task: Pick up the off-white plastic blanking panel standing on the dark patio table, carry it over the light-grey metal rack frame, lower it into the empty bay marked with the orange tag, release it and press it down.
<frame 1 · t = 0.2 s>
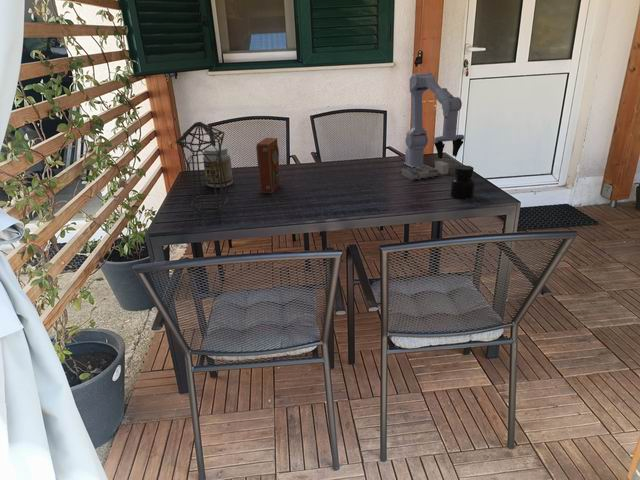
hand: (447, 157, 206), 10 cm above the table, tool pointing down, fingers open, 7 cm apart
blanking panel: (441, 172, 218), on the table
supplement tub: (220, 184, 212), on the table
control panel: (270, 189, 203), on the table
ink bottle: (461, 196, 186), on the table
geometric lantern: (211, 214, 177), on the table
rack: (419, 175, 214), on the table
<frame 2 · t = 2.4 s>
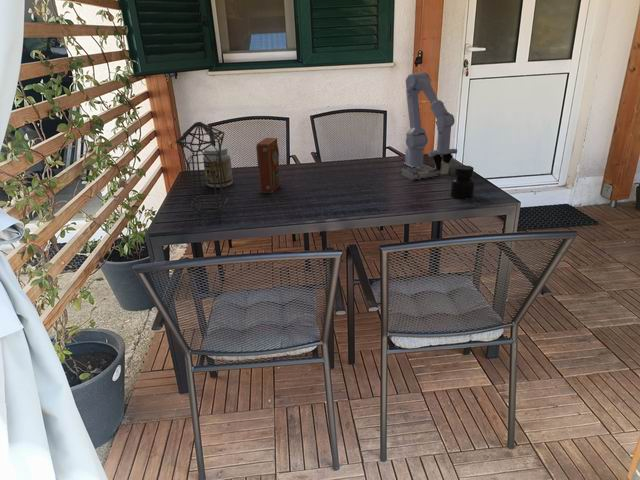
hand: (441, 169, 217), 1 cm above the table, tool pointing down, fingers closed on blanking panel, 3 cm apart
blanking panel: (441, 172, 218), on the table, touching gripper
everything else where it was.
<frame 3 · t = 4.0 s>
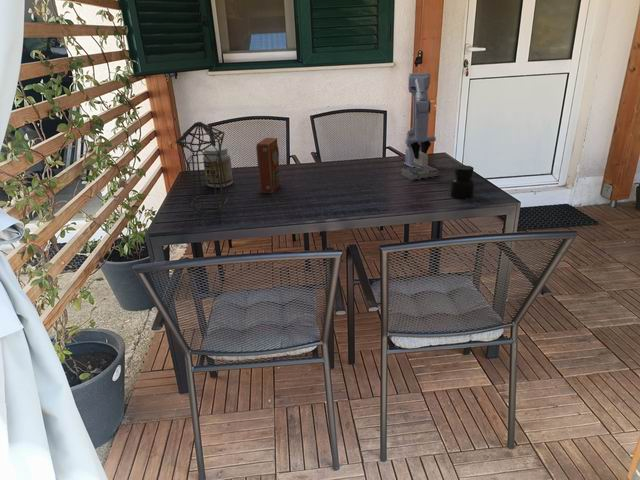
hand: (419, 158, 211), 8 cm above the table, tool pointing down, fingers closed on blanking panel, 3 cm apart
blanking panel: (420, 163, 211), point 6 cm above the table, touching gripper
everything else where it was.
when the fingers open (4 cm above the table, at t = 5.7 s): blanking panel stays where it is, resting on rack.
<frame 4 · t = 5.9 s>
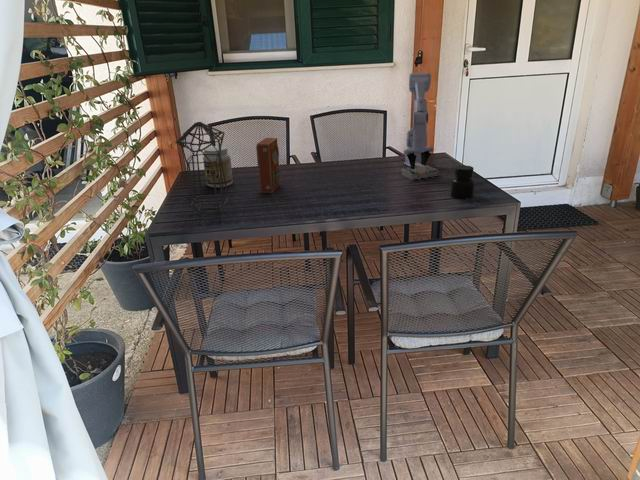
hand: (417, 168, 212), 4 cm above the table, tool pointing down, fingers open, 5 cm apart
blanking panel: (418, 175, 213), point 1 cm above the table, touching rack
everything else where it was.
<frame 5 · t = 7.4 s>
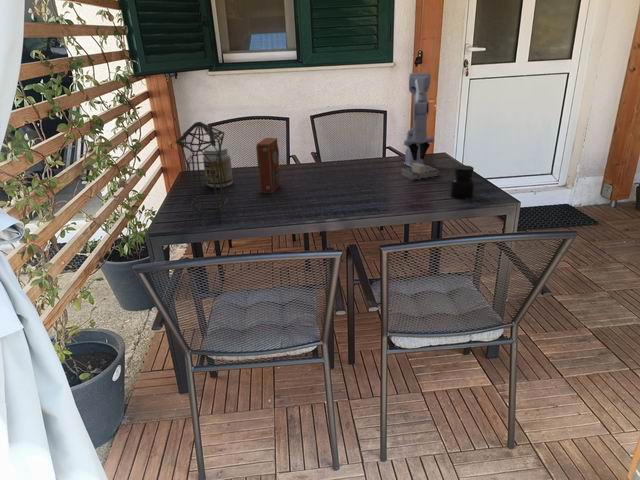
hand: (418, 159, 211), 8 cm above the table, tool pointing down, fingers open, 3 cm apart
nothing on the table moved.
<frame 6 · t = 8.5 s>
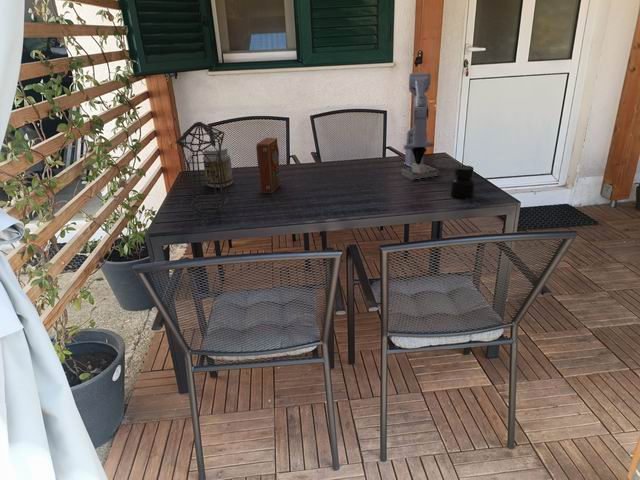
hand: (418, 163, 212), 6 cm above the table, tool pointing down, fingers closed
nothing on the table moved.
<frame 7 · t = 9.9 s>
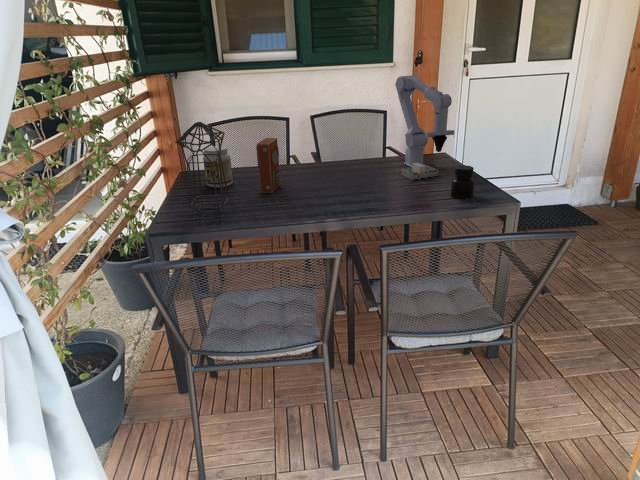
hand: (438, 151, 215), 10 cm above the table, tool pointing down, fingers closed
nothing on the table moved.
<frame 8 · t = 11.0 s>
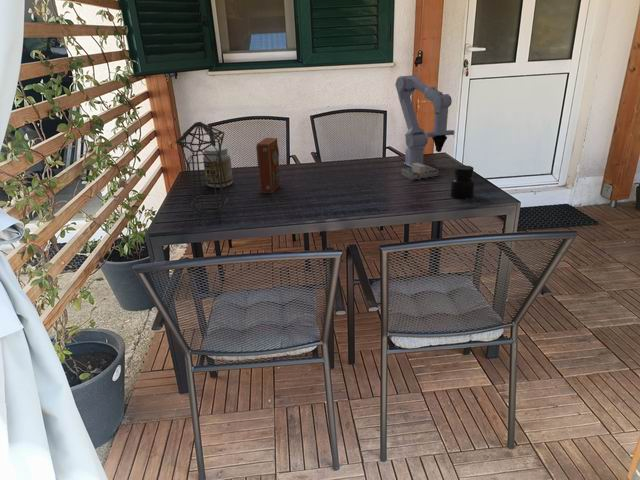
hand: (438, 151, 215), 10 cm above the table, tool pointing down, fingers closed
nothing on the table moved.
at the end: blanking panel 0.8 cm from the target spot on the rack, point 0.6 cm above the rack's base; blanking panel tilted 0°; the gripper is holding nothing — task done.
